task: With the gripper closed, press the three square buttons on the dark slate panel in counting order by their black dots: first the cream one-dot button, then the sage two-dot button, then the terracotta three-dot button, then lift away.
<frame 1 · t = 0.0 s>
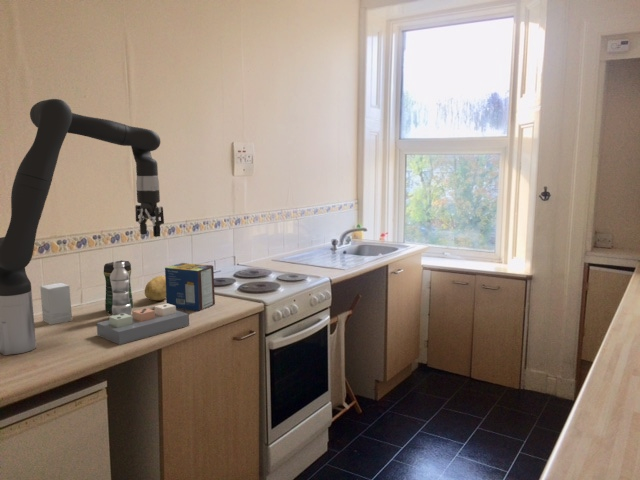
hand: (150, 235, 184), 29 cm above the countertop, tool pointing down, fingers open, 8 cm apart
protein box: (190, 306, 202), on the countertop
plastic bottle: (122, 317, 187), on the countertop
button three dots: (144, 317, 172), point 4 cm above the countertop, slide at 0.0 cm
coffee jar: (119, 310, 196), on the countertop
button one dot: (165, 312, 178), point 4 cm above the countertop, slide at 0.0 cm
button panel: (144, 330, 172), on the countertop
supplement box: (57, 321, 183), on the countertop
button two dots: (121, 323, 166), point 4 cm above the countertop, slide at 0.0 cm
potato: (158, 300, 212), on the countertop
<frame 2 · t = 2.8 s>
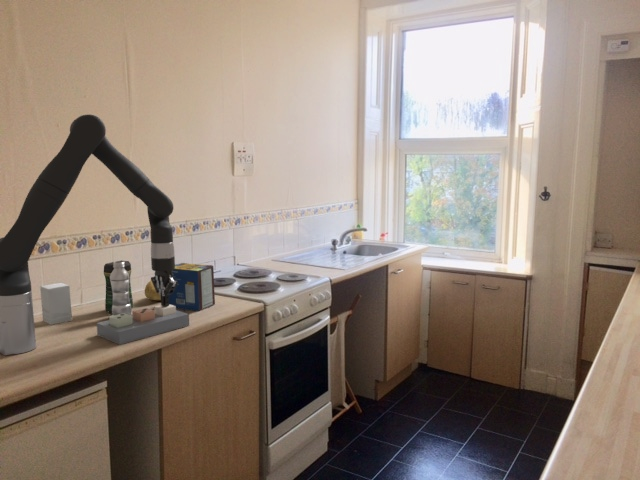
hand: (165, 305, 177), 7 cm above the countertop, tool pointing down, fingers closed
button one dot: (165, 312, 178), point 4 cm above the countertop, slide at 0.1 cm, touching gripper
everything else where it was.
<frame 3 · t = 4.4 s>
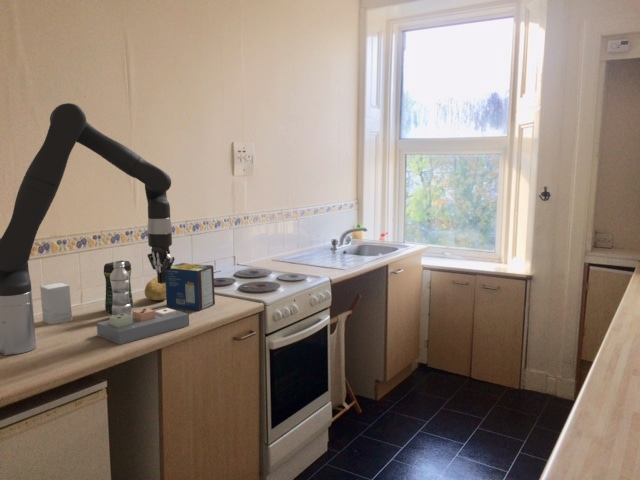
hand: (161, 282, 176), 15 cm above the countertop, tool pointing down, fingers closed
button one dot: (165, 317, 178), point 3 cm above the countertop, slide at 1.7 cm
everything else where it was.
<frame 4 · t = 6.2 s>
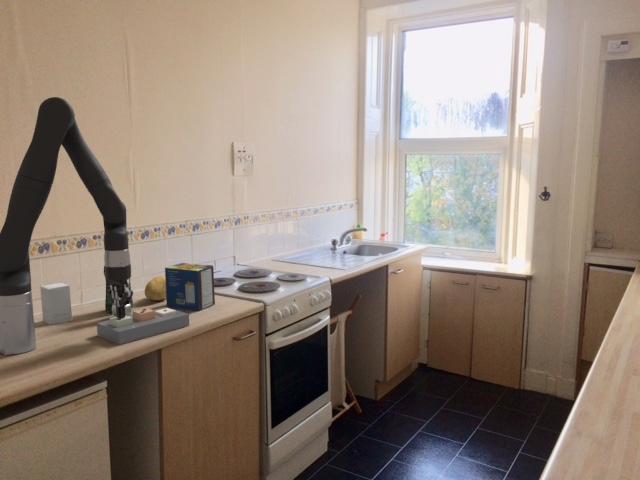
hand: (121, 317, 165), 6 cm above the countertop, tool pointing down, fingers closed
button two dots: (121, 324, 166), point 4 cm above the countertop, slide at 0.5 cm, touching gripper
everything else where it was.
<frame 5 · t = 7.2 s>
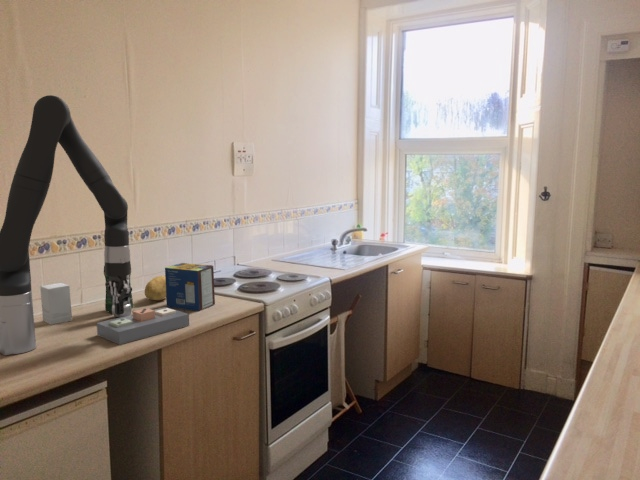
hand: (119, 313, 165), 7 cm above the countertop, tool pointing down, fingers closed
button two dots: (121, 328, 166), point 3 cm above the countertop, slide at 1.7 cm
everything else where it was.
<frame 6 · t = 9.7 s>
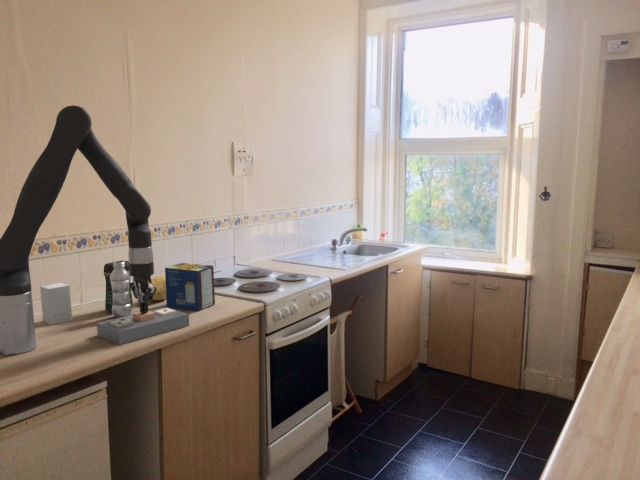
hand: (144, 312, 171), 6 cm above the countertop, tool pointing down, fingers closed
button three dots: (144, 319, 172), point 4 cm above the countertop, slide at 0.7 cm, touching gripper
everything else where it was.
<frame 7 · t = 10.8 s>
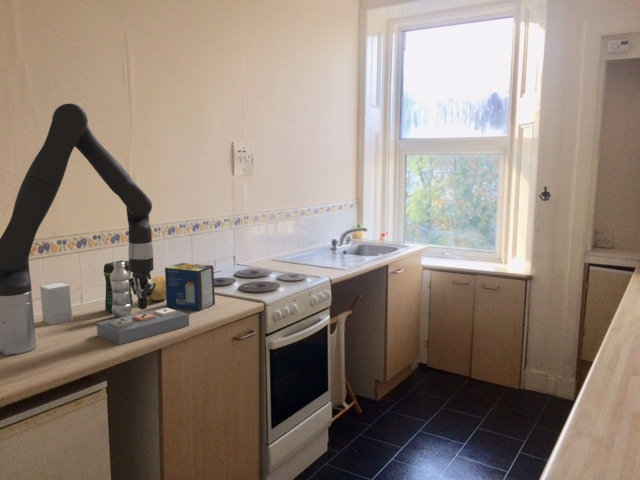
hand: (142, 308, 171), 7 cm above the countertop, tool pointing down, fingers closed
button three dots: (144, 322, 172), point 3 cm above the countertop, slide at 1.7 cm
everything else where it was.
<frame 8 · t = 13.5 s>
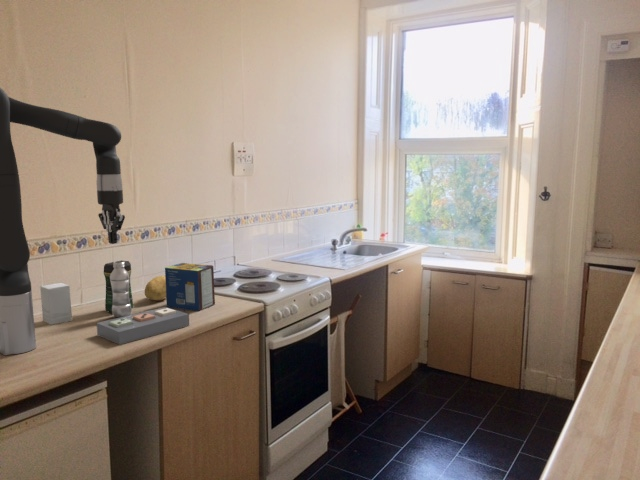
hand: (113, 243, 167), 29 cm above the countertop, tool pointing down, fingers closed
nothing on the countertop moved.
at the end: button one dot slide at 1.7 cm; button two dots slide at 1.7 cm; button three dots slide at 1.7 cm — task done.
